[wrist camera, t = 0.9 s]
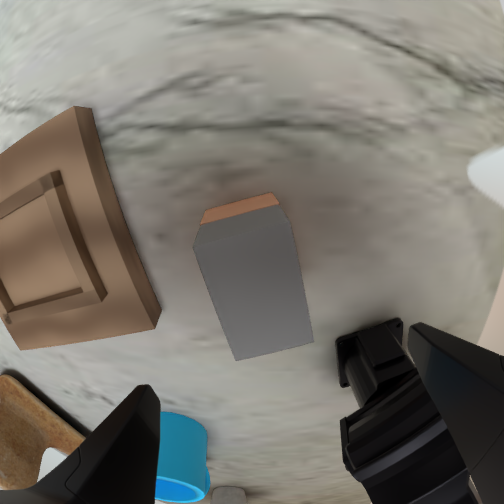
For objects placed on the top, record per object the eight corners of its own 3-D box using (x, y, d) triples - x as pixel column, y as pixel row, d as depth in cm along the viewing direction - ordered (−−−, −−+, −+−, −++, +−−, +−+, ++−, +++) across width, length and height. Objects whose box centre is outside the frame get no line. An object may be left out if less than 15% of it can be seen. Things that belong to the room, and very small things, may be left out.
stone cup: (-9, 383, 26) (-50, 451, 12) (12, 360, 24) (-44, 447, 10) (64, 446, 31) (40, 518, 17) (100, 436, 29) (74, 527, 15)
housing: (292, 283, 22) (315, 342, 15) (234, 298, 22) (235, 361, 15) (271, 192, 19) (290, 219, 13) (205, 209, 19) (191, 246, 13)
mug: (124, 417, 27) (108, 474, 20) (180, 404, 26) (170, 471, 19) (183, 463, 31) (179, 512, 24) (236, 454, 30) (238, 508, 23)
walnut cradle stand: (161, 310, 22) (151, 339, 18) (31, 336, 23) (14, 357, 19) (91, 108, 16) (64, 104, 13) (-31, 190, 17) (-57, 200, 13)
